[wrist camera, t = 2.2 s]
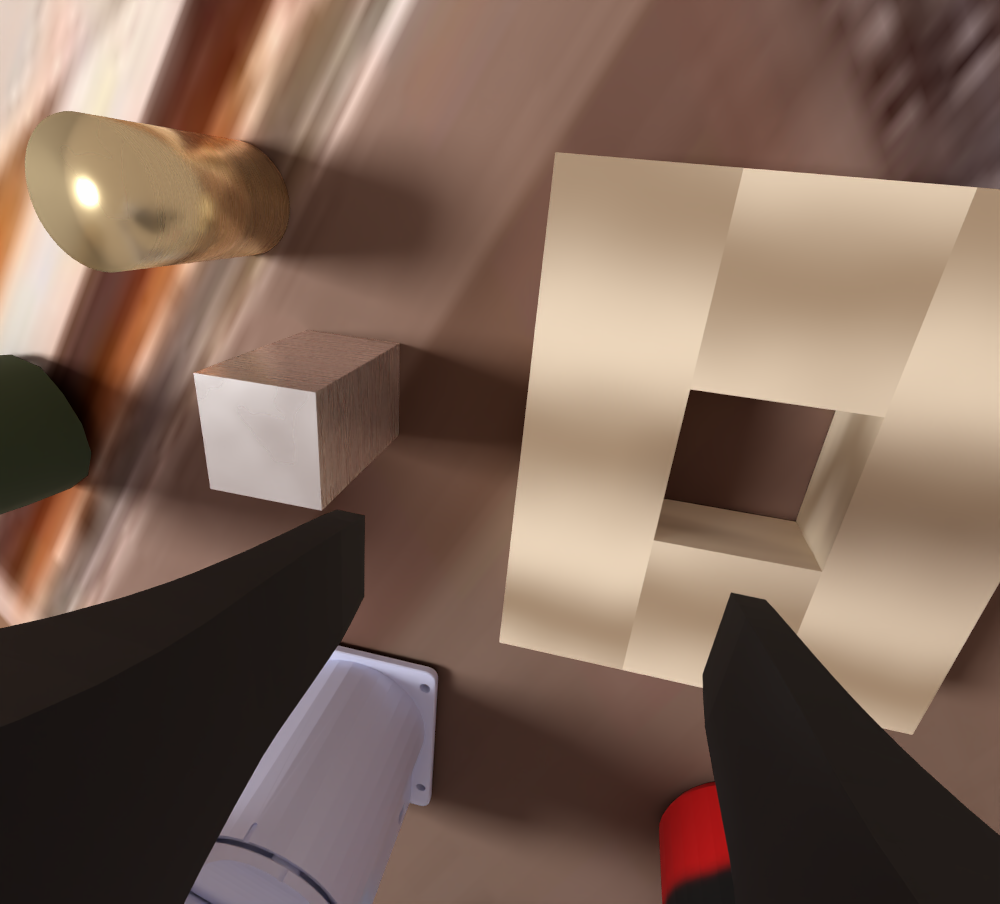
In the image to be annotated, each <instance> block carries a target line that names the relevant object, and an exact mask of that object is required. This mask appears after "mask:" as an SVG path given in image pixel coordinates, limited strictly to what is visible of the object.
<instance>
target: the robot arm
mask: <svg viewBox="0 0 1000 904" xmlns="http://www.w3.org/2000/svg"><path fill="white" fill-rule="evenodd" d="M364 545H365V515H360V514H355V513H350V512H345V511H341V510H335V511H332V512H330V513H327V514H325V515H323V516H320V517H318V518H316V519H314V520H311V521H309V522H307V523H305V524H303V525H301V526H299V527H297V528H294V529H292V530H290V531H288V532H286V533H284V534H282V535H280V536H277V537H275V538H273V539H271V540H269V541H267V542H265V543H262V544H260V545H258V546H256V547H254V548H252V549H249V550H247V551H245V552H243V553H240V554H238V555H235V556H233V557H231V558H228V559H226V560H224V561H221V562H219V563H216V564H214V565H212V566H209V567H207V568H204V569H202V570H200V571H197V572H195V573H192V574H190V575H187V576H184V577H182V578H179V579H176V580H174V581H171V582H168V583H165V584H162V585H159V586H156V587H153V588H150V589H147V590H144V591H141V592H138V593H135V594H132V595H129V596H126V597H123V598H119V599H116V600H112V601H109V602H105V603H101V604H98V605H94V606H90V607H87V608H83V609H79V610H76V611H72V612H68V613H65V614H61V615H57V616H53V617H49V618H45V619H41V620H36V621H32V622H27V623H23V624H19V625H14V626H10V627H5V628H0V904H372V903H373V900H374V898H375V895H376V892H377V889H378V887H379V884H380V881H381V879H382V876H383V873H384V871H385V868H386V865H387V862H388V860H389V857H390V854H391V852H392V849H393V846H394V843H395V841H396V838H397V835H398V833H399V830H400V827H401V825H402V822H403V819H404V816H405V814H406V811H407V808H408V806H409V803H413V804H416V805H420V806H426V805H428V804H429V802H430V799H431V795H432V777H433V759H434V742H435V724H436V706H437V689H438V674H437V672H436V671H435V670H434V669H433V668H430V667H427V666H423V665H419V664H415V663H410V662H406V661H402V660H398V659H393V658H389V657H385V656H381V655H377V654H372V653H368V652H364V651H360V650H355V649H351V648H347V647H343V646H338V645H339V643H340V642H341V640H342V639H343V637H344V635H345V633H346V631H347V629H348V628H349V626H350V624H351V622H352V620H353V618H354V616H355V614H356V612H357V610H358V608H359V606H360V604H361V602H362V600H363V598H364ZM702 679H703V701H704V717H705V729H706V735H707V741H708V746H709V752H710V757H711V763H712V768H713V774H714V779H715V785H716V790H717V795H718V800H719V806H720V811H721V816H722V822H723V827H724V832H725V838H726V843H727V848H728V854H729V859H730V866H731V873H732V879H733V886H734V894H735V904H1000V835H998V834H997V833H996V832H995V831H994V830H993V829H991V828H990V827H989V826H988V825H987V824H985V823H984V822H983V821H982V820H981V819H980V818H978V817H977V816H976V815H975V814H974V813H972V812H971V811H970V810H969V809H968V808H967V807H966V806H964V805H963V804H962V803H961V802H960V801H959V800H958V799H957V798H956V797H954V796H953V795H952V794H951V793H950V792H949V791H948V790H947V789H946V788H944V787H943V786H942V785H941V784H940V783H939V782H938V781H937V780H936V779H934V778H933V777H932V776H931V775H930V774H929V773H928V772H927V771H926V770H924V769H923V768H922V767H921V766H920V765H919V764H918V763H917V762H916V761H915V760H914V759H913V758H912V757H911V756H910V755H909V754H908V753H906V752H905V751H904V750H903V749H902V748H901V747H900V746H899V745H898V744H897V743H896V742H895V741H894V740H893V739H892V738H891V737H890V736H889V735H888V734H887V733H886V732H885V731H884V730H883V729H882V728H881V727H880V726H879V725H878V724H877V723H876V721H875V720H874V719H873V718H872V717H871V716H870V715H869V714H868V713H867V712H866V711H865V710H864V709H863V708H862V707H861V706H860V705H859V704H858V703H857V702H856V701H855V700H854V699H853V698H852V696H851V695H850V694H849V693H848V692H847V691H846V690H845V689H844V688H843V687H842V686H841V684H840V683H839V682H838V681H837V680H836V679H835V678H834V677H833V676H832V674H831V673H830V672H829V671H828V670H827V669H826V668H825V667H824V666H823V664H822V663H821V662H820V661H819V660H818V659H817V658H816V656H815V655H814V654H813V653H812V652H811V651H810V650H809V648H808V647H807V646H806V645H805V644H804V643H803V641H802V640H801V639H800V638H799V637H798V636H797V634H796V633H795V632H794V631H793V630H792V629H791V627H790V626H789V625H788V624H787V623H786V622H785V621H784V619H783V618H782V617H781V616H780V615H779V614H778V613H777V611H776V610H775V609H774V608H773V607H772V606H771V605H770V604H769V603H768V602H767V601H766V600H765V599H760V598H756V597H751V596H746V595H741V594H737V593H732V592H731V594H730V597H729V599H728V602H727V605H726V608H725V611H724V614H723V617H722V620H721V622H720V625H719V628H718V631H717V634H716V637H715V640H714V643H713V645H712V648H711V651H710V654H709V657H708V660H707V663H706V666H705V668H704V671H703V674H702ZM425 684H426V685H428V686H426V685H425Z"/></svg>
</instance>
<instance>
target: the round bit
mask: <svg viewBox="0 0 1000 904" xmlns="http://www.w3.org/2000/svg"><path fill="white" fill-rule="evenodd" d="M25 175H26V182H27V187H28V191H29V195H30V198H31V201H32V204H33V206H34V209H35V211H36V213H37V215H38V217H39V219H40V221H41V223H42V224H43V226H44V228H45V229H46V231H47V232H48V233H49V235H50V236H51V238H52V239H53V240H54V241H55V242H56V243H57V245H58V246H59V247H60V248H61V249H62V250H63V251H65V252H66V253H67V254H68V255H69V256H71V257H72V258H73V259H75V260H76V261H78V262H79V263H81V264H83V265H85V266H87V267H89V268H92V269H95V270H98V271H103V272H120V271H128V270H136V269H144V268H152V267H161V266H169V265H177V264H185V263H193V262H201V261H209V260H218V259H226V258H234V257H242V256H250V255H258V254H262V253H265V252H267V251H269V250H270V249H272V248H273V247H275V246H276V245H277V244H278V242H279V241H280V240H281V238H282V237H283V235H284V233H285V231H286V228H287V225H288V220H289V197H288V193H287V189H286V186H285V183H284V180H283V178H282V176H281V174H280V172H279V170H278V169H277V167H276V166H275V164H274V163H273V162H272V161H271V159H270V158H269V157H268V156H267V155H266V154H265V153H263V152H262V151H261V150H260V149H258V148H257V147H255V146H253V145H251V144H249V143H246V142H243V141H239V140H233V139H227V138H222V137H216V136H210V135H205V134H199V133H193V132H188V131H182V130H176V129H170V128H165V127H159V126H153V125H148V124H142V123H136V122H131V121H125V120H119V119H113V118H108V117H102V116H96V115H91V114H85V113H79V112H73V111H64V112H59V113H55V114H53V115H50V116H48V117H47V118H45V119H44V120H42V121H41V122H40V123H39V125H38V126H37V127H36V128H35V130H34V131H33V133H32V135H31V137H30V139H29V142H28V146H27V149H26V156H25Z"/></svg>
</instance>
